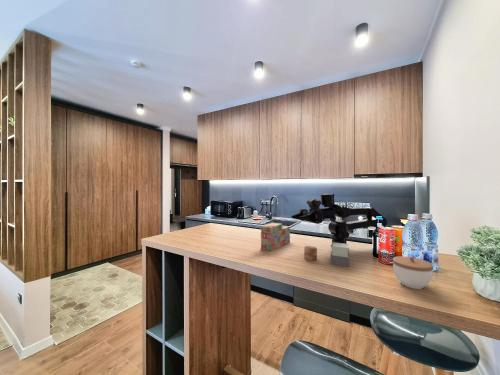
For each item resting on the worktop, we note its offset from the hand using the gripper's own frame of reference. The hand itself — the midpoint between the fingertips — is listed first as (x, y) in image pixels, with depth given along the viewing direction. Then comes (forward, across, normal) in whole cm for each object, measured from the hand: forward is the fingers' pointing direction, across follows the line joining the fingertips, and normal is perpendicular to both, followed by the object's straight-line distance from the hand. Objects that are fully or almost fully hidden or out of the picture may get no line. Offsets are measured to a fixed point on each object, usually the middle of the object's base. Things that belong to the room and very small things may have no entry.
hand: (295, 217), depth 106 cm
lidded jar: (-21, +40, +22) cm, 51 cm away
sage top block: (-10, +18, +16) cm, 26 cm away
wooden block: (0, +11, +18) cm, 21 cm away
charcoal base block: (-10, +18, +20) cm, 28 cm away
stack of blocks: (+8, -12, +16) cm, 21 cm away
